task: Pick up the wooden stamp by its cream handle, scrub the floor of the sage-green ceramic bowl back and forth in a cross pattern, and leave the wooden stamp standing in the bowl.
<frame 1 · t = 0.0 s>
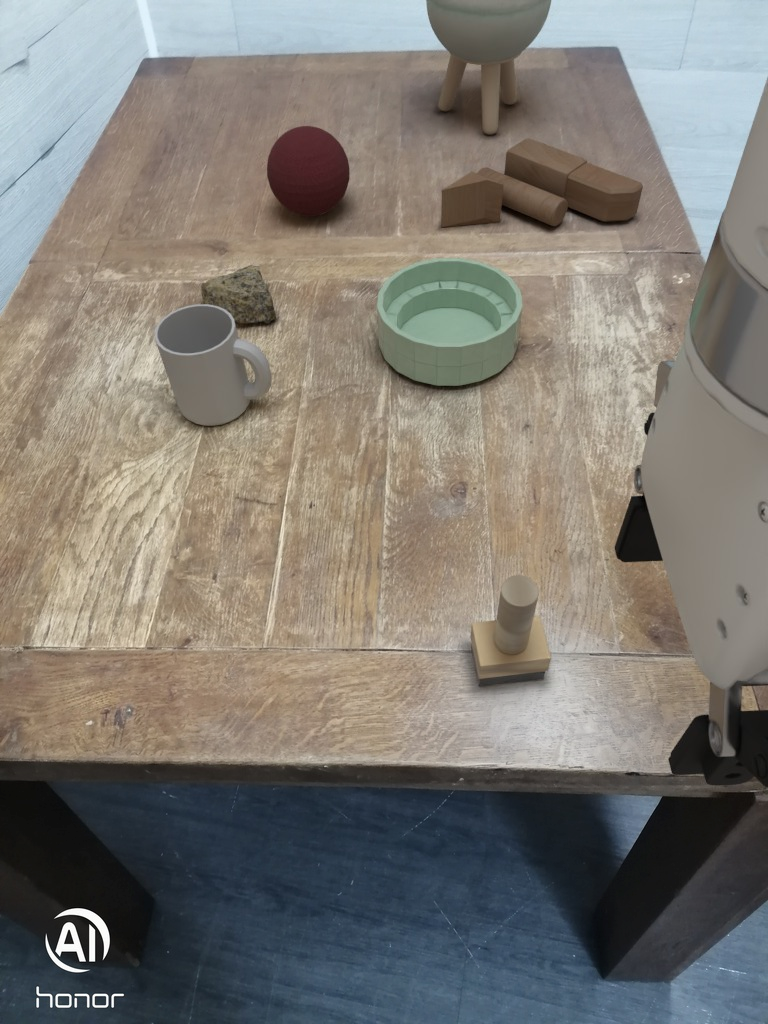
hand: (676, 650, 32), 23 cm above the table, tool pointing down, fingers open, 9 cm apart
wooden stamp: (506, 663, 57), on the table
cup: (229, 404, 76), on the table
planter: (481, 117, 111), on the table
wooden block set: (535, 221, 94), on the table
decorative ball: (313, 211, 97), on the table
bowl: (447, 343, 80), on the table
rock: (245, 307, 85), on the table
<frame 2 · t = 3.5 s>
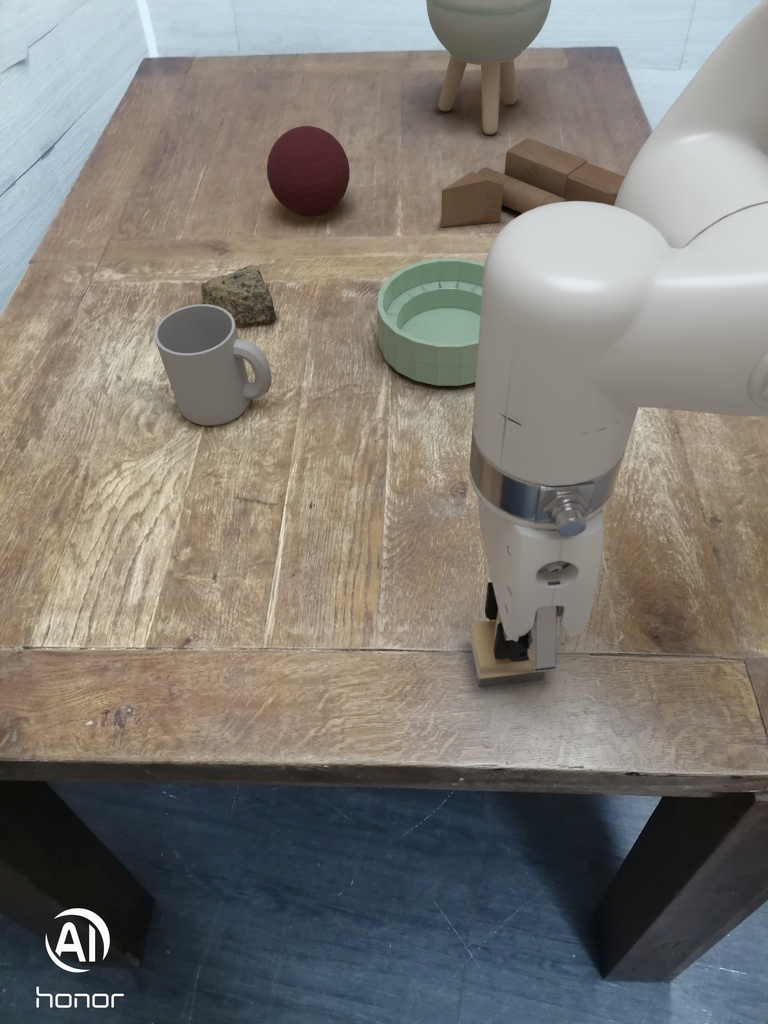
hand: (512, 632, 53), 5 cm above the table, tool pointing down, fingers closed on wooden stamp, 2 cm apart
wooden stamp: (506, 663, 57), on the table, touching gripper
everything else where it was.
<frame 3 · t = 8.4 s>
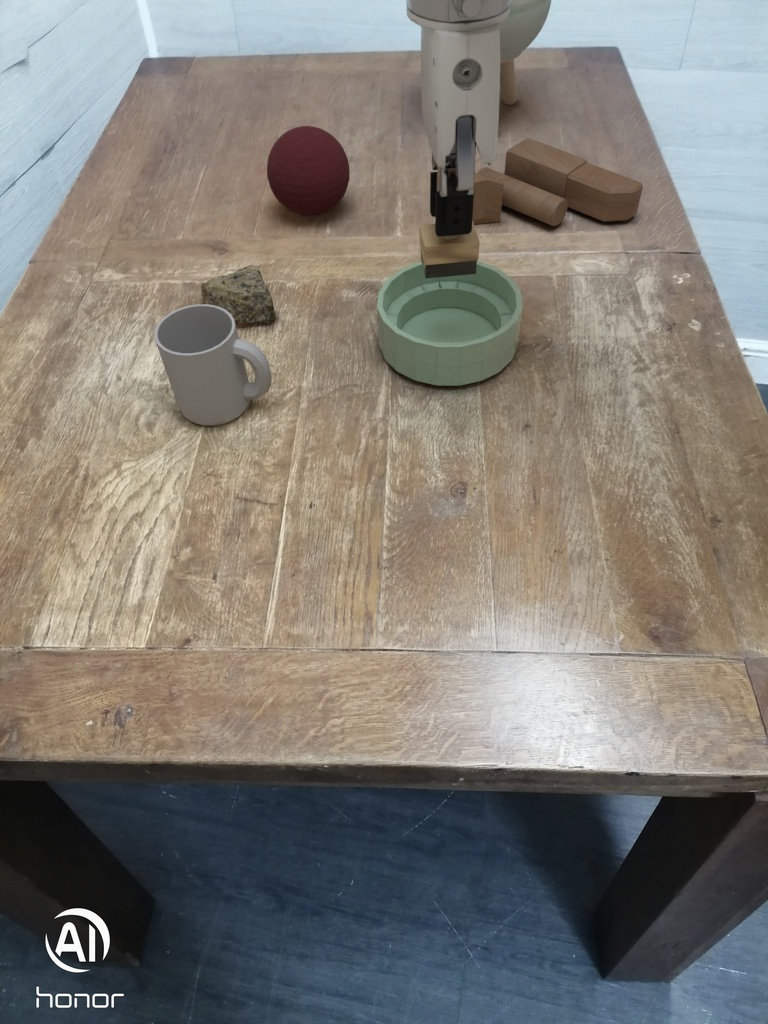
hand: (450, 222, 69), 14 cm above the table, tool pointing down, fingers closed on wooden stamp, 2 cm apart
wooden stamp: (448, 266, 73), point 9 cm above the table, touching gripper
everything else where it was.
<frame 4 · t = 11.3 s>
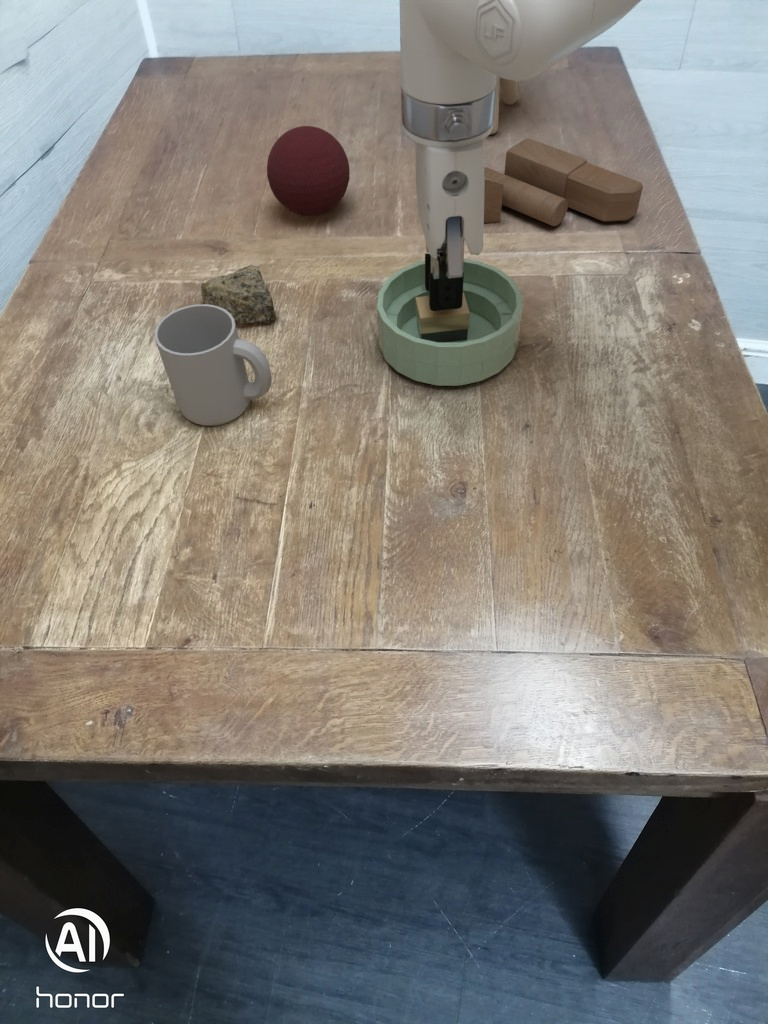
hand: (443, 296, 76), 5 cm above the table, tool pointing down, fingers closed on wooden stamp, 2 cm apart
wooden stamp: (441, 332, 80), point 1 cm above the table, touching gripper
everything else where it was.
when the fingers open (5 cm above the table, at t = 13.3 s): wooden stamp stays where it is, resting on bowl.
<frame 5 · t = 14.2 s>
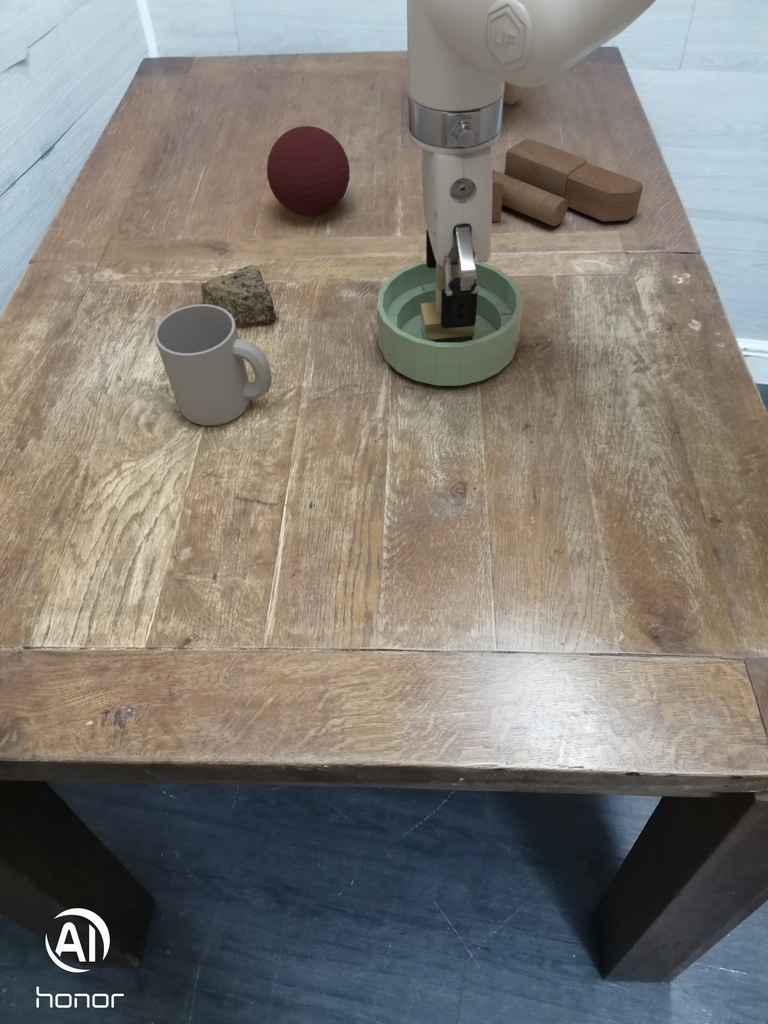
hand: (449, 294, 75), 6 cm above the table, tool pointing down, fingers open, 9 cm apart
wooden stamp: (446, 339, 79), point 1 cm above the table, touching bowl
everything else where it was.
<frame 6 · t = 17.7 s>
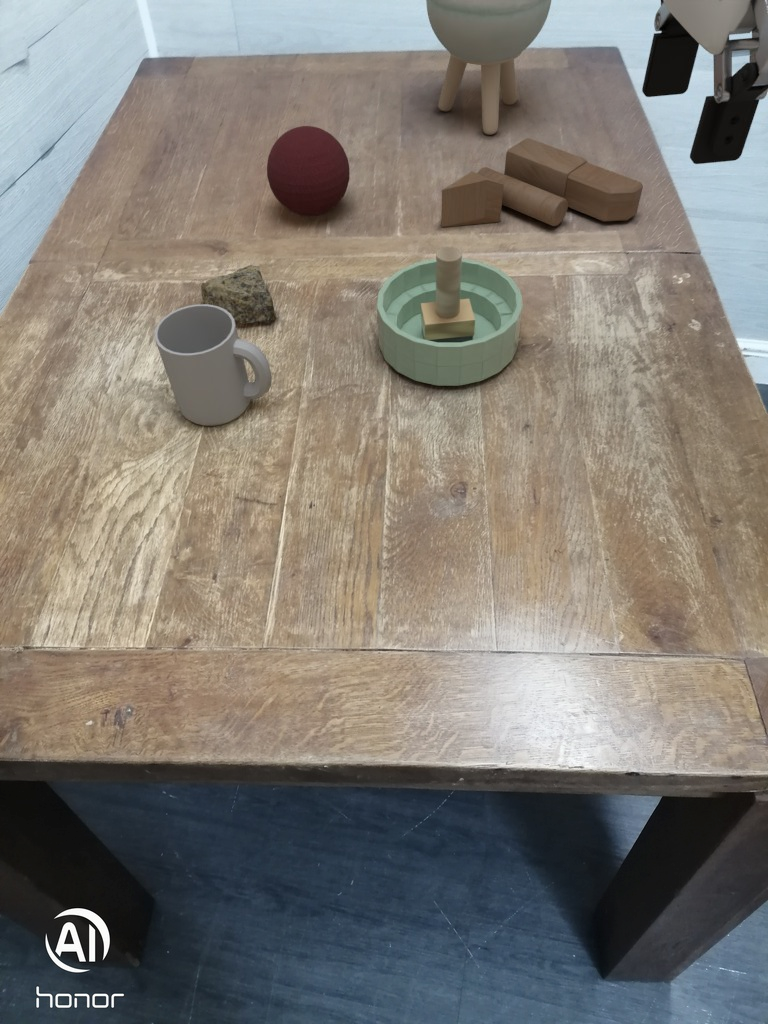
hand: (687, 125, 53), 26 cm above the table, tool pointing down, fingers open, 9 cm apart
nothing on the table moved.
at the end: wooden stamp inside the target area in the bowl (0.1 cm from its centre), point 0.6 cm above the bowl's base; wooden stamp tilted 0°; the gripper is holding nothing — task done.
